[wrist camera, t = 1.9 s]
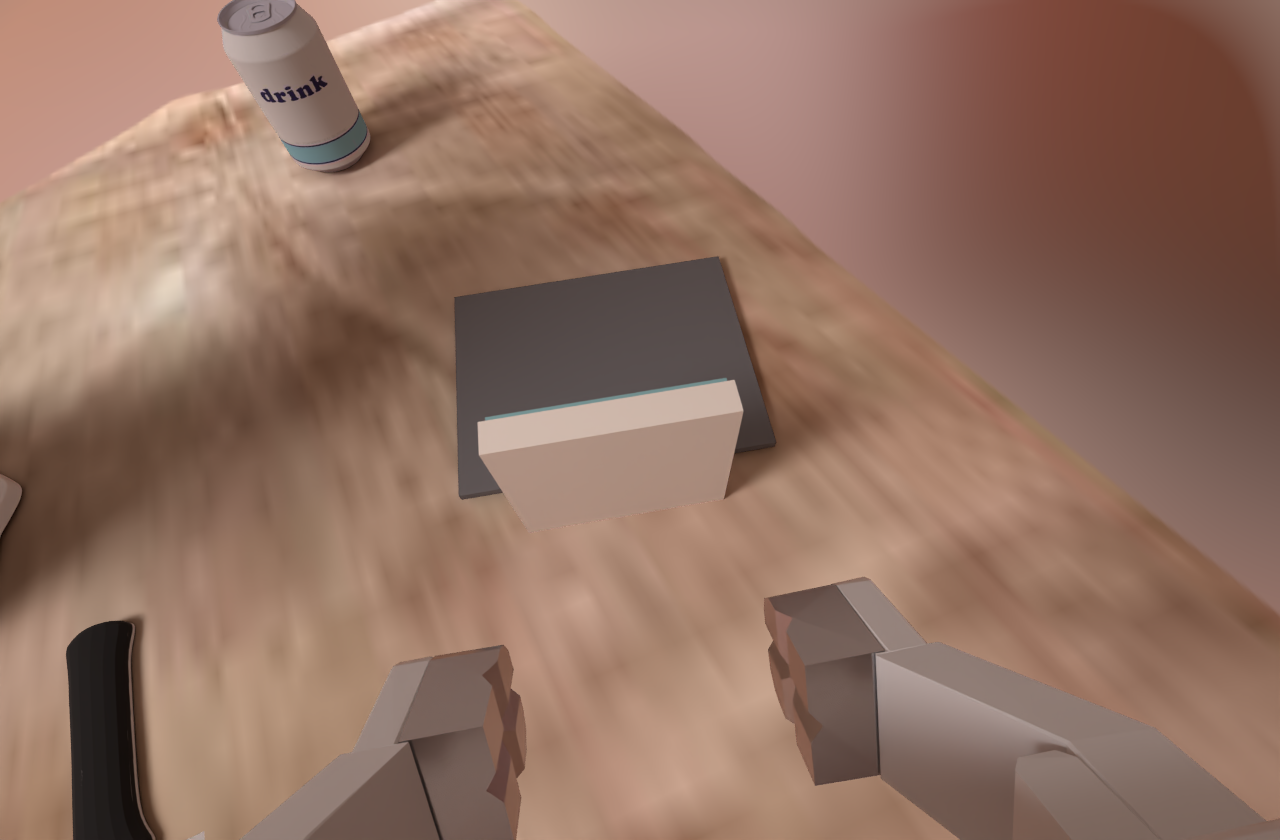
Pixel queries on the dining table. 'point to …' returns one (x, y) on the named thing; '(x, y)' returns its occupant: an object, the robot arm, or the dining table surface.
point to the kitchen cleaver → (104, 736)
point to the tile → (614, 454)
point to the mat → (597, 349)
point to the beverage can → (295, 82)
